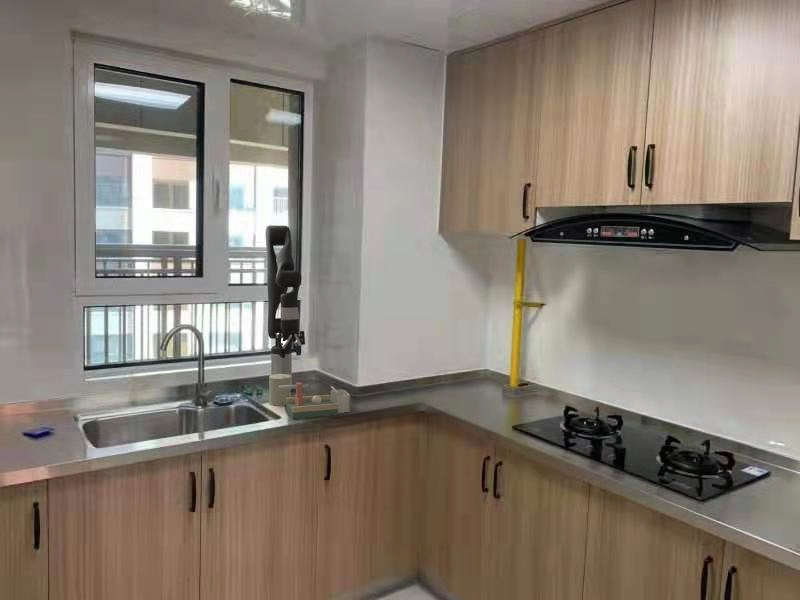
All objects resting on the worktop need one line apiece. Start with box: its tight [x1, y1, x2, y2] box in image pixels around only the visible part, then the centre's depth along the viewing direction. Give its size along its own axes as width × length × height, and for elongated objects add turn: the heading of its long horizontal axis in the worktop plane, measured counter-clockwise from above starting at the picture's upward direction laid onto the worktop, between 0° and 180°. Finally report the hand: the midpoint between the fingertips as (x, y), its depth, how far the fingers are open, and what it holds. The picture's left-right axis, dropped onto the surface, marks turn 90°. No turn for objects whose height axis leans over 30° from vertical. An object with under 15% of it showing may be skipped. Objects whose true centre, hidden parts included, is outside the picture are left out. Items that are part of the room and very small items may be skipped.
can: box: [268, 374, 292, 407], centre depth 259 cm, size 9×9×12 cm
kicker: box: [279, 382, 311, 406], centre depth 244 cm, size 7×12×9 cm, turn 110°
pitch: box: [285, 394, 339, 419], centre depth 246 cm, size 15×18×4 cm
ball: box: [312, 395, 322, 405], centre depth 247 cm, size 4×4×4 cm
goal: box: [330, 385, 351, 414], centre depth 250 cm, size 10×6×9 cm, turn 20°
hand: (290, 356), depth 257 cm, fingers open, 8 cm apart
